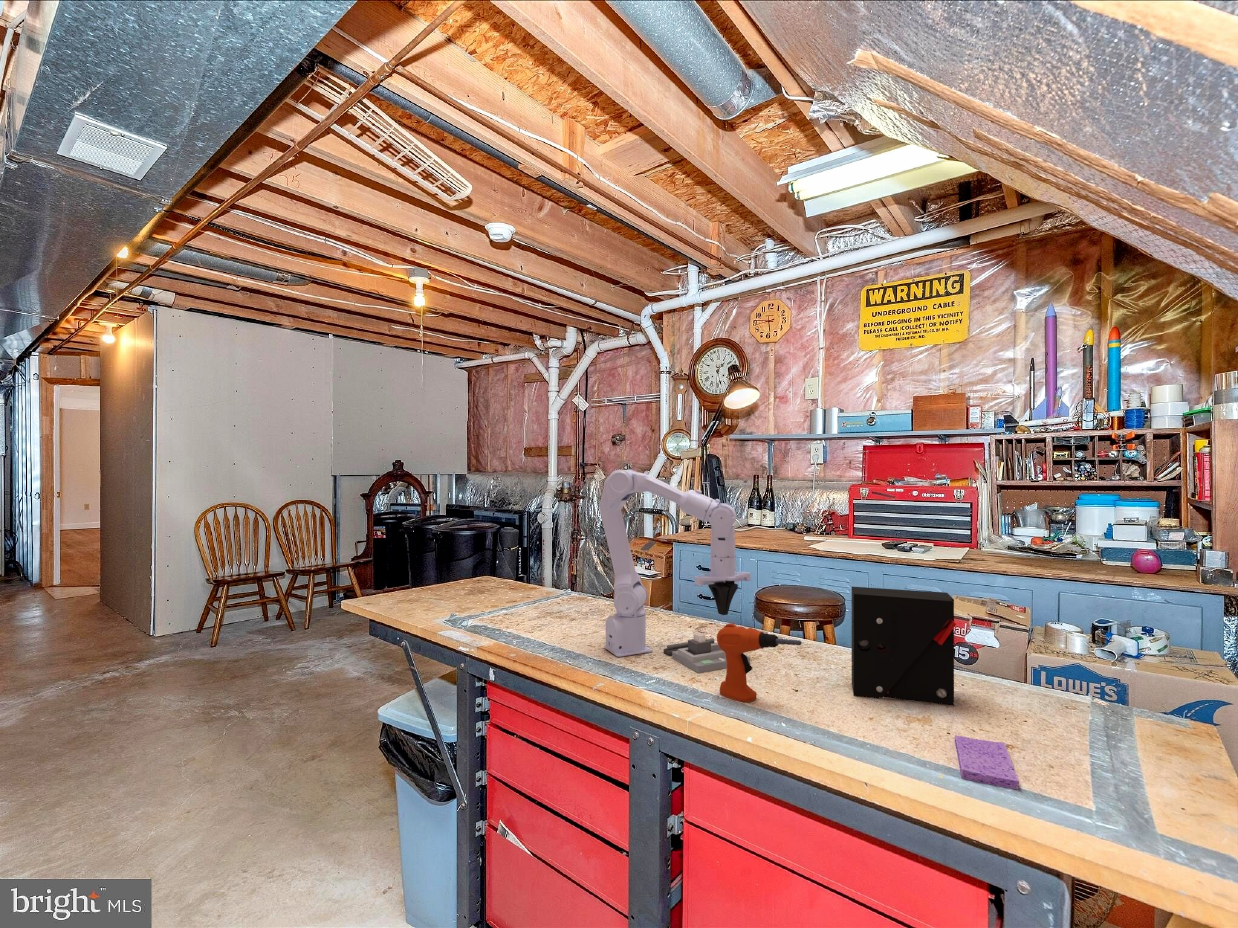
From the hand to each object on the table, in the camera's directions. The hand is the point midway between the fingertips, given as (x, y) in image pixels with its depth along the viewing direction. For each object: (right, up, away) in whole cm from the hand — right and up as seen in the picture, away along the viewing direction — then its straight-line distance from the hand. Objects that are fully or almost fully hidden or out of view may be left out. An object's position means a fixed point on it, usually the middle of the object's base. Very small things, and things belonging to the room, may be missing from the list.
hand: (722, 613), depth 134 cm
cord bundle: (-6, -10, +5) cm, 13 cm away
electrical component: (+31, -11, -20) cm, 39 cm away
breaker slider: (-6, -9, -3) cm, 11 cm away
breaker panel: (-3, -10, -2) cm, 11 cm away
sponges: (+31, -11, -47) cm, 58 cm away
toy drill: (+2, -11, -24) cm, 27 cm away
